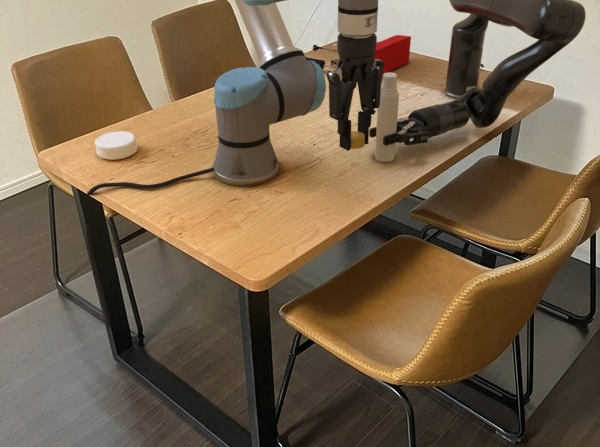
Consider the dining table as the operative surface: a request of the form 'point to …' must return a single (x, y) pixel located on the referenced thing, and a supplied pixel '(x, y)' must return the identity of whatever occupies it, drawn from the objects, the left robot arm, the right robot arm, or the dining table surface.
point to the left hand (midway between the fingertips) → (353, 144)
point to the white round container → (116, 145)
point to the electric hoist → (382, 53)
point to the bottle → (387, 117)
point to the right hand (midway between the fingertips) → (377, 137)
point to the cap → (357, 140)
